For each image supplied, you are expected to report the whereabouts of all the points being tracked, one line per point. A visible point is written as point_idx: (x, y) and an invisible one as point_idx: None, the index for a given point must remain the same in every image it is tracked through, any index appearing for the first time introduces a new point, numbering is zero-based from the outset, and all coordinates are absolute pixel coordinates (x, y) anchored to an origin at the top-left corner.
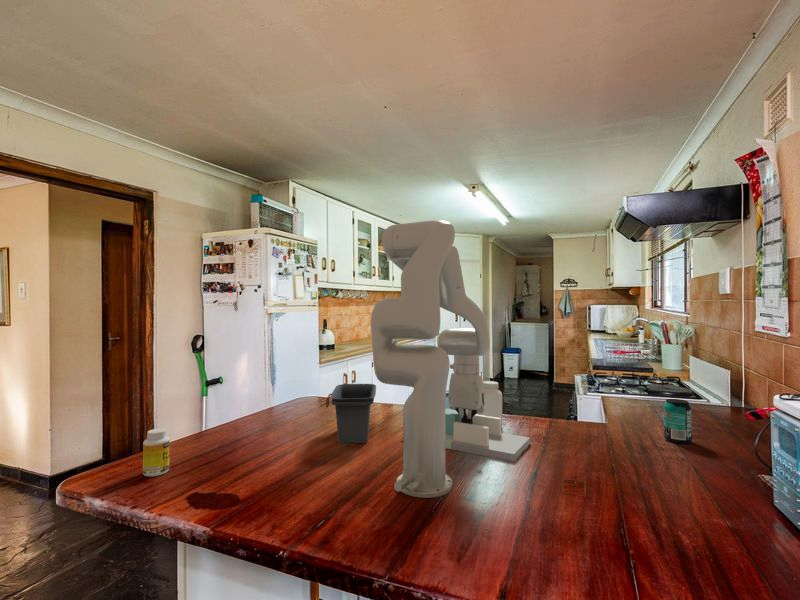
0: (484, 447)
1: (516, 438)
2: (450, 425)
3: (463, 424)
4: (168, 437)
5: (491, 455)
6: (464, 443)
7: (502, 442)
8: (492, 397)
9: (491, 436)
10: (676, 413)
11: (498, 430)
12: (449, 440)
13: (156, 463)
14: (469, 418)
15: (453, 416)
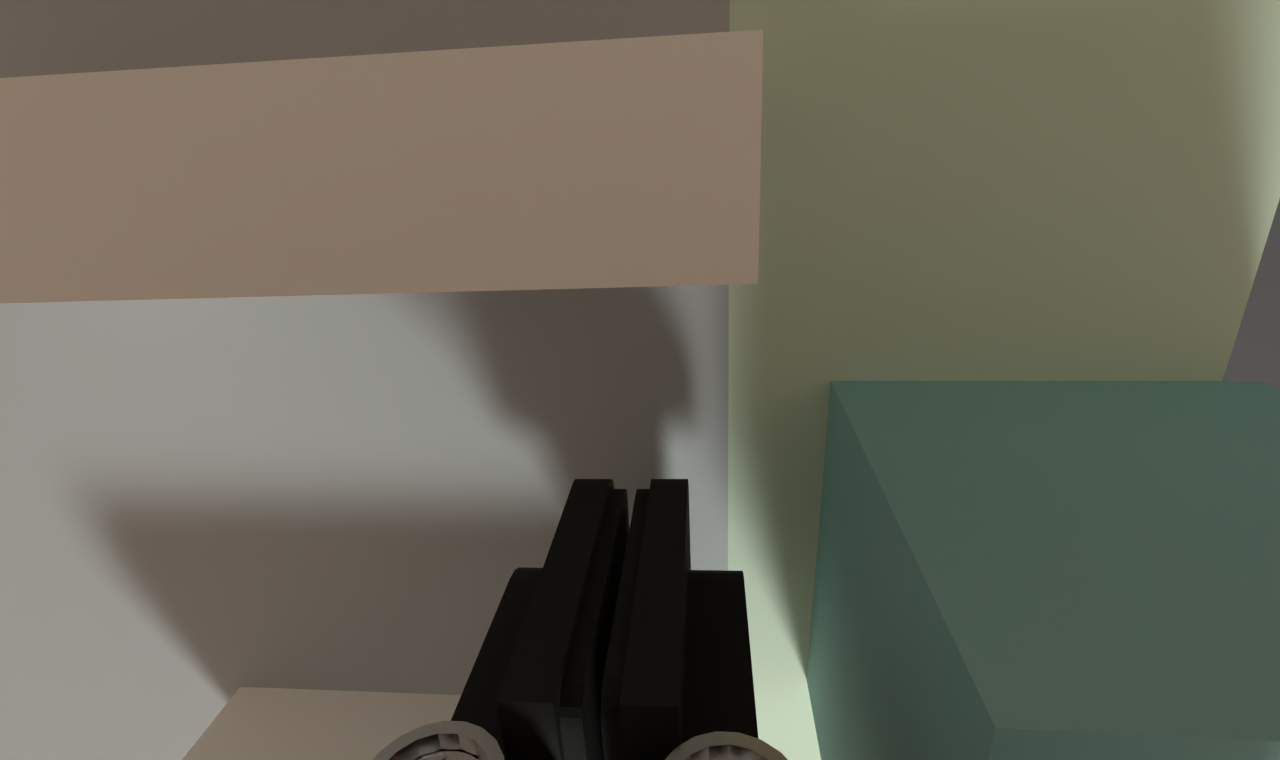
0: (22, 39)
1: (36, 691)
2: (1010, 481)
3: (277, 85)
4: None
5: None
6: (442, 26)
7: (27, 462)
8: None
9: (309, 623)
10: None
11: (206, 758)
12: (811, 14)
13: None
14: (428, 736)
15: (1036, 686)
